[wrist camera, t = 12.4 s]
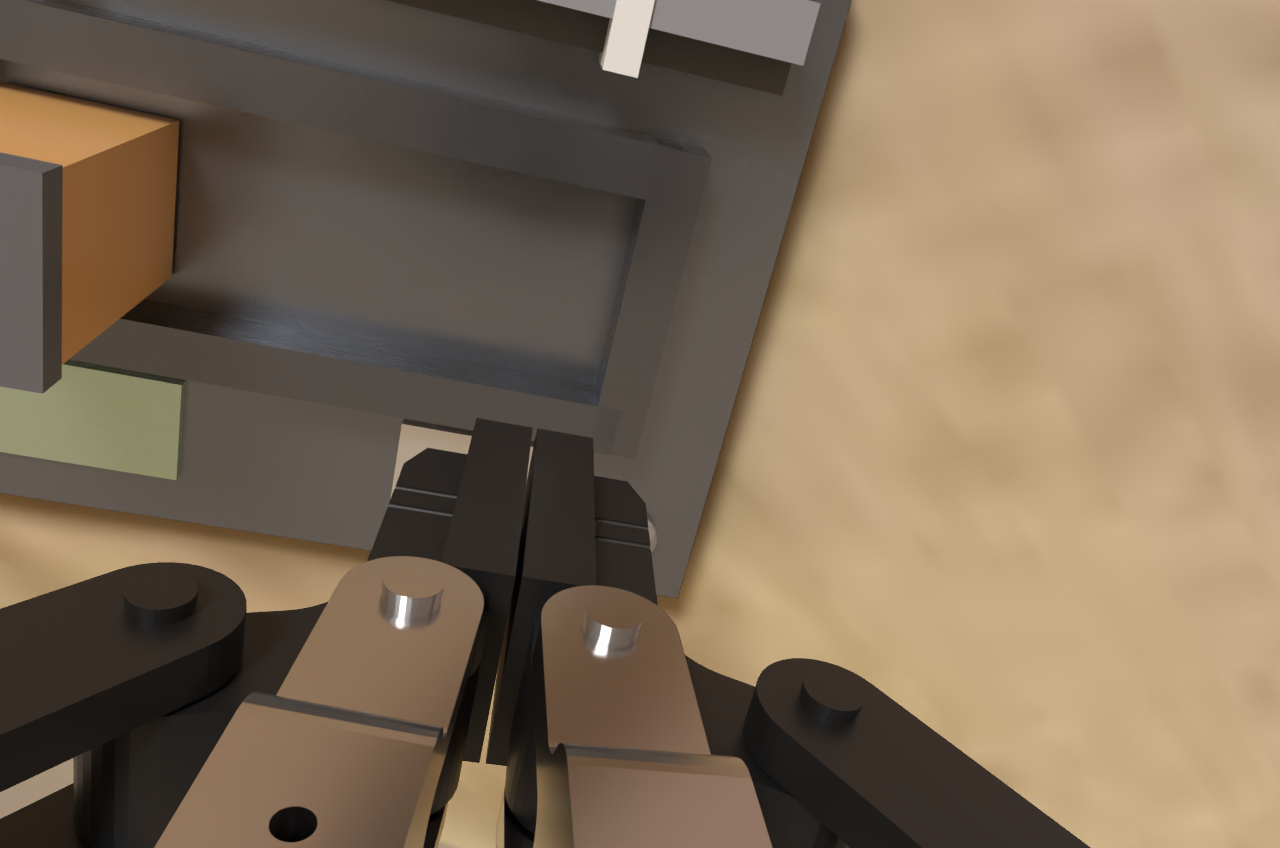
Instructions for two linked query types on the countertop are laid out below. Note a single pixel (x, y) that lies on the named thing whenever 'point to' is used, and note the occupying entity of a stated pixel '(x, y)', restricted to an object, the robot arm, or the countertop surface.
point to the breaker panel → (408, 260)
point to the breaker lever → (77, 224)
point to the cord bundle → (662, 33)
